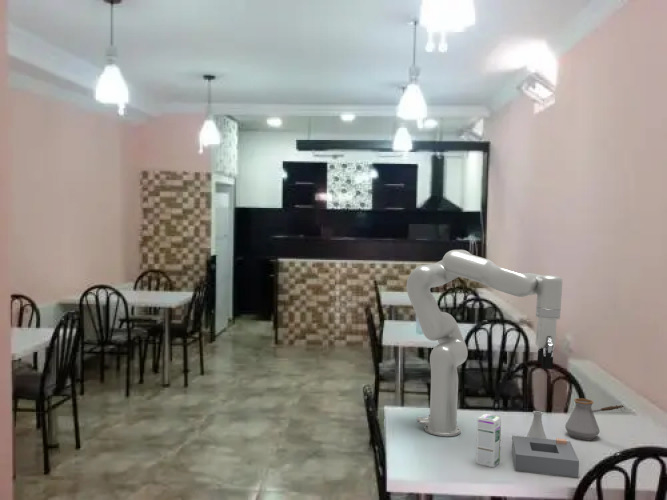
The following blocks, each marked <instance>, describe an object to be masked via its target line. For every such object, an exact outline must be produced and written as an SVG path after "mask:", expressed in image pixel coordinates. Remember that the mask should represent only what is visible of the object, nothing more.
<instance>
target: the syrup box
mask: <svg viewBox="0 0 667 500" xmlns="http://www.w3.org/2000/svg"><path fill="white" fill-rule="evenodd" d="M476 424H477V426H476V427H477V428H476V432H477V433H476V457H475V458H476V459H475V460H476V462H475V463H476V464H477V465H481V466H484V467H490V468H495V467H496V466H497V465H498V464H499V463H500V461H501V458H500V457H501V435H502V434H501V431H502V430H501V428H502V427H501V426H502V425H501V424H502V417H501V416H499V415H495V414H489V413H488V414H487V413H483V414H482V415H480V416H479V417H478V418H477V423H476Z"/></svg>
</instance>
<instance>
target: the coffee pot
mask: <svg viewBox="0 0 667 500" xmlns="http://www.w3.org/2000/svg"><path fill="white" fill-rule="evenodd" d="M573 401H574V402H575V406H574V408H573V410H572V412H571V413H570V416H569V418H568V419H567V421H566V424H565V430H566V432H568V434H570V436H571V437H572V438H575V439H578V440H587V441H590V440H591V441H592V440H593V439H594V438H596V437H597V436H598V435H599V433H600V430H601V429H600V427H599V424H598V422H597V420H596V417H595V414H594V413H596V412H597V413H599V412H605V411H613V410H615V409H616V410H618V409H620V411H621V412H623V413H625V410H623V409H622V408H624V409H626V408H625V406H624V405H622V404H621V405H615V406H613V405H611V406H605V407H601V408H597V409H596V408H595V409H593V408H592V405H593V404H594V401H593V400H591V399H588V398H582V397H581V398H578V397H577V398H574V399H573Z"/></svg>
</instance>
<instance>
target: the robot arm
mask: <svg viewBox="0 0 667 500" xmlns="http://www.w3.org/2000/svg"><path fill="white" fill-rule="evenodd" d="M459 277H460V278H464V279H467V280H470V281H472V282H476V283H480V284H482V285H484V286H486V287H489V288H491V289H493V290H496V291H498V292H501V293H505V294H507V295H511V296H515V297H518V298H519V297H521V298H524V297H527V296H533V295H535V296H536V306H535V307H536V308H535V318H537V324H536V333H535V345H536V347H537V348H538V350H537V362H538V363H541V368H542V369H544V370H553V368H554V367H553V363H554V349H555V348H556V341H557V340H556V337H557V321H558V320H561V310H562V294H563V293H562V292H563V279H562V278H561V276H558V275H552V274H551V275H550V274H543V275H542V274H537V273H533V272H522V273H519V272H515V271H513V270H510V269H506V268H503V267H501V266H499V265H497V264H495V262H493V261H492V260H490V259H488V258H484V257H482V256H477V255H474V254H471V252H469V251H467V250H465V249H452V250H449V251H447V252H446V253H445V254H444V256H443V257H442V259H441V260H439V261H437V262H435V263H430V264H429V263H428V264H426V263H425V264H422V265H419V266H417V267H415V268H413V270H412V271H411V272H410V274H409V275H408V277H407V281H406V293H407V296H408V298H409V301H410V303H411V305H412V307H413V311H414V313H415V315H416V318H417V320H418V323H419V326H420V328H421V331H422V333H423V335H424V337H425V338H426V339H428V341H429V340H430V341H434V342H435V341H437V342H438V344H437V345H436V346H434V347H433V349H432V350H431V351H430V354H429V365H430V377H431V378H430V395H429V396H430V400H429V415H428V416H425V417H422V416H416V423H419V425H424V431H425V432H427V433H428V434H430V435H432V436H433V435H434V436H438V437H456V436H459V435H460V434H461V431H462V430H461V428H460V427H459V426H457V422H458V420H457V418H458V415H457V414H458V397H459V395H458V394H459V375H458V366H460V365H462V364H464V363H465V362H466V361H467V358H468V347H467V344H466V342H465V340H464V339H465V338H464V337H463V334H462V332H461V330H460V327H459V324H458V323H457V321H456V319H455V318H454V317H453V315H452V314H450V313H448V312H445V311H441V309H440V307H439V305H438V302H437V300H436V298H435V296H434V295H433V293H432V292H431V288H437V287H441V286H443V285H445V284H448V283H450V282H452V281H453V280H455V279H457V278H459Z"/></svg>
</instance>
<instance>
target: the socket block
mask: <svg viewBox="0 0 667 500" xmlns="http://www.w3.org/2000/svg"><path fill="white" fill-rule="evenodd" d="M511 455H512V459H513V460H512V461H513V466H514V471H515V472H522V471H523V473H532V474H540V475H549V476H559V477H567V478H568V477H569V478H577V479H578V478H579V475H580V474H579V473H580V470H579V469H580V460H579V458H578V455H577V454H576V451H575V449H574V447H573V445H572V442H571V441H569V440H567V439H565V438H555V439H551V438H550V439H549V438H546V439H541V438H531V437H527V436H519V435H512V439H511Z"/></svg>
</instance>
